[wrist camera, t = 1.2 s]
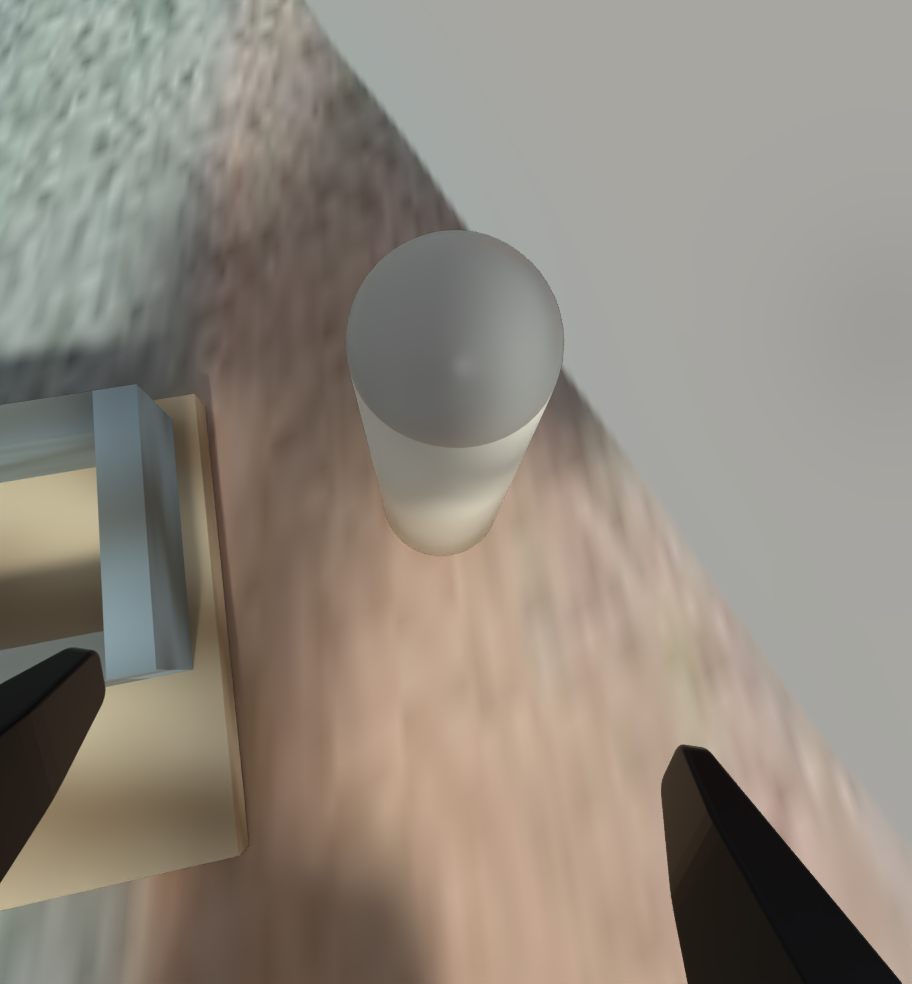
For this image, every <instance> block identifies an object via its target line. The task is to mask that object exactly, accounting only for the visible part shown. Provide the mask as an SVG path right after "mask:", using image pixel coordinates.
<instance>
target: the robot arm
mask: <svg viewBox="0 0 912 984" xmlns="http://www.w3.org/2000/svg"><path fill="white" fill-rule="evenodd" d="M105 691H106V687H105V681H104V676H103V671H102V665H101V660H100V656H99V654H98V653H97V652H96V651H94V650H89V649H83V648H77V647H69V648H66V649H64V650H62V651H60V652H58V653H56V654H54V655H52V656H51V657H49V658H47V659H45V660H43V661H41V662H40V663H38V664H36V665H34V666H32V667H30V668H29V669H27V670H25V671H23V672H21V673H19V674H18V675H16V676H14V677H12V678H10V679H8V680H6V681H5V682H3V683H1V684H0V883H1V882H2V880H3V879H4V877H5V876H6V874H7V872H8V871H9V869H10V868H11V866H12V865H13V863H14V861H15V860H16V858H17V857H18V855H19V854H20V852H21V850H22V849H23V847H24V846H25V844H26V843H27V841H28V839H29V838H30V836H31V835H32V833H33V832H34V830H35V828H36V827H37V825H38V824H39V822H40V821H41V819H42V817H43V816H44V814H45V813H46V811H47V809H48V808H49V806H50V804H51V803H52V801H53V799H54V798H55V796H56V794H57V792H58V790H59V788H60V786H61V785H62V783H63V781H64V779H65V777H66V775H67V773H68V771H69V769H70V767H71V765H72V763H73V761H74V759H75V757H76V755H77V753H78V751H79V749H80V747H81V745H82V743H83V741H84V739H85V737H86V735H87V733H88V731H89V729H90V727H91V725H92V723H93V722H94V720H95V718H96V716H97V714H98V712H99V710H100V708H101V706H102V703H103V701H104V698H105ZM661 798H662V808H663V819H664V830H665V841H666V852H667V862H668V873H669V883H670V892H671V899H672V905H673V911H674V917H675V922H676V927H677V932H678V937H679V942H680V947H681V952H682V957H683V962H684V967H685V972H686V978H687V983H688V984H902V982H901V981H900V980H899V979H898V977H897V976H896V975H895V974H894V973H893V971H892V970H891V969H890V968H889V967H888V965H887V964H886V963H885V962H884V961H883V959H882V958H881V957H880V956H879V955H878V953H877V952H876V951H875V950H874V949H873V947H872V946H871V945H870V944H869V943H868V941H867V940H866V939H865V938H864V937H863V935H862V934H861V933H860V932H859V930H858V929H857V928H856V927H855V926H854V924H853V923H852V922H851V921H850V920H849V918H848V917H847V916H846V915H845V914H844V912H843V911H842V910H841V909H840V908H839V906H838V905H837V904H836V903H835V902H834V900H833V899H832V898H831V897H830V896H829V894H828V893H827V892H826V891H825V890H824V888H823V887H822V886H821V885H820V883H819V882H818V881H817V880H816V879H815V877H814V876H813V875H812V874H811V873H810V871H809V870H808V869H807V868H806V867H805V865H804V864H803V863H802V862H801V861H800V859H799V858H798V857H797V856H796V855H795V853H794V852H793V851H792V850H791V849H790V847H789V846H788V845H787V844H786V843H785V841H784V840H783V839H782V838H781V836H780V835H779V834H778V833H777V832H776V830H775V829H774V828H773V827H772V826H771V824H770V823H769V822H768V821H767V820H766V818H765V817H764V816H763V815H762V814H761V812H760V811H759V810H758V809H757V808H756V806H755V805H754V804H753V803H752V802H751V800H750V799H749V798H748V797H747V796H746V794H745V793H744V792H743V791H742V789H741V788H740V787H739V786H738V785H737V783H736V782H735V781H734V780H733V779H732V777H731V776H730V775H729V774H728V773H727V771H726V770H725V769H724V768H723V767H722V765H721V764H720V763H719V762H718V761H717V759H716V758H715V757H714V756H713V755H712V753H711V752H710V751H708V750H707V749H705V748H702V747H697V746H690V745H680V746H678V747H677V749H676V750H675V752H674V755H673V757H672V759H671V761H670V763H669V765H668V767H667V770H666V772H665V774H664V776H663V779H662V784H661Z"/></svg>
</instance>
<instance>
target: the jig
mask: <svg viewBox="0 0 912 984" xmlns="http://www.w3.org/2000/svg"><path fill="white" fill-rule="evenodd" d="M69 647H77V648H83V649H89V650H94V651H96V652H97V653H98V654H99V656H100V660H101V665H102V671H103V676H104V681H105V687H106V691H105V698H104V701H103V703H102V706H101V708H100V710H99V712H98V714H97V716H96V718H95V720H94V722H93V723H92V725H91V727H90V729H89V731H88V733H87V735H86V737H85V739H84V741H83V743H82V745H81V747H80V749H79V751H78V753H77V755H76V757H75V759H74V761H73V763H72V765H71V767H70V769H69V771H68V773H67V775H66V777H65V779H64V781H63V783H62V785H61V786H60V788H59V790H58V792H57V794H56V796H55V798H54V799H53V801H52V803H51V804H50V806H49V808H48V809H47V811H46V813H45V814H44V816H43V817H42V819H41V821H40V822H39V824H38V825H37V827H36V828H35V830H34V832H33V833H32V835H31V836H30V838H29V839H28V841H27V843H26V844H25V846H24V847H23V849H22V850H21V852H20V854H19V855H18V857H17V858H16V860H15V861H14V863H13V865H12V866H11V868H10V869H9V871H8V872H7V874H6V876H5V877H4V879H3V880H2V882H1V883H0V911H1V910H5V909H9V908H14V907H18V906H23V905H27V904H31V903H36V902H40V901H44V900H49V899H53V898H57V897H62V896H66V895H71V894H75V893H79V892H84V891H88V890H92V889H97V888H101V887H106V886H110V885H114V884H119V883H123V882H127V881H132V880H136V879H141V878H145V877H149V876H154V875H158V874H162V873H167V872H171V871H176V870H180V869H184V868H189V867H193V866H197V865H202V864H206V863H211V862H215V861H219V860H224V859H228V858H232V857H237V856H239V855H240V854H241V853H242V852H243V851H244V850H245V849H246V848H247V847H248V846H249V841H248V831H247V821H246V811H245V801H244V791H243V781H242V771H241V761H240V751H239V741H238V731H237V721H236V710H235V700H234V690H233V680H232V670H231V660H230V650H229V640H228V630H227V620H226V610H225V600H224V590H223V580H222V570H221V560H220V550H219V540H218V530H217V520H216V510H215V500H214V490H213V480H212V470H211V460H210V449H209V439H208V429H207V419H206V409H205V406H204V404H203V403H202V402H201V401H200V400H199V398H198V397H197V396H196V395H195V394H189V395H183V396H176V397H170V398H164V399H157V400H152V399H151V398H150V397H149V396H148V395H147V394H146V393H145V392H144V391H143V390H142V389H141V388H140V387H139V386H138V385H137V384H133V385H127V386H120V387H114V388H107V389H101V390H94V391H88V392H81V393H75V394H68V395H62V396H55V397H49V398H42V399H36V400H29V401H23V402H16V403H10V404H3V405H0V684H1V683H3V682H5V681H6V680H8V679H10V678H12V677H14V676H16V675H18V674H19V673H21V672H23V671H25V670H27V669H29V668H30V667H32V666H34V665H36V664H38V663H40V662H41V661H43V660H45V659H47V658H49V657H51V656H52V655H54V654H56V653H58V652H60V651H62V650H64V649H66V648H69Z"/></svg>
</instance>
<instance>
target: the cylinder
mask: <svg viewBox="0 0 912 984" xmlns="http://www.w3.org/2000/svg"><path fill="white" fill-rule="evenodd" d="M563 351H564V334H563V324H562V319H561V315H560V311H559V307H558V304H557V301H556V299H555V296H554V294H553V293H552V290H551V289H550V287H549V285H548V283H547V281H546V280H545V279H544V277H543V276H542V274H541V273H540V271H539V270H538V269H537V268H536V267H535V266H534V265H533V263H532V262H531V261H530V260H528V259H527V258H526V257H525V256H524V255H523V254H521V253H520V252H519V251H518V250H516V249H514V248H513V247H511V246H510V245H508V244H507V243H505V242H503V241H501V240H499V239H496V238H494V237H491V236H489V235H485V234H481V233H478V232H472V231H465V230H445V231H437V232H432V233H428V234H425V235H421V236H418V237H416V238H414V239H411V240H409V241H407V242H405V243H403V244H402V245H400V246H398V247H397V248H395V249H393V250H392V251H391V252H389V253H388V254H387V255H386V256H384V257H383V258H382V259H381V260H380V261H379V262H378V263H377V264H376V265H375V267H374V268H373V269H372V270H371V271H370V272H369V274H368V275H367V277H366V278H365V279H364V281H363V282H362V284H361V286H360V288H359V290H358V292H357V294H356V296H355V298H354V301H353V304H352V307H351V309H350V313H349V318H348V323H347V330H346V352H347V362H348V367H349V371H350V375H351V379H352V383H353V387H354V391H355V395H356V399H357V402H358V406H359V410H360V414H361V418H362V422H363V426H364V430H365V434H366V438H367V442H368V446H369V450H370V454H371V458H372V461H373V465H374V469H375V473H376V477H377V481H378V485H379V489H380V493H381V497H382V501H383V505H384V509H385V513H386V517H387V519H388V522H389V524H390V526H391V528H392V530H393V531H394V532H395V534H396V535H397V536H398V537H399V538H400V539H401V540H402V541H403V542H404V543H405V544H406V545H408V546H409V547H411V548H413V549H414V550H416V551H419V552H421V553H424V554H428V555H434V556H448V555H454V554H458V553H461V552H463V551H466V550H468V549H470V548H471V547H473V546H474V545H476V544H477V543H478V542H479V541H480V540H481V539H482V538H483V537H484V536H485V535H486V534H487V532H488V531H489V529H490V528H491V526H492V524H493V522H494V520H495V517H496V515H497V513H498V511H499V509H500V506H501V504H502V502H503V500H504V498H505V495H506V493H507V491H508V489H509V487H510V485H511V482H512V480H513V478H514V476H515V474H516V471H517V469H518V467H519V465H520V463H521V460H522V458H523V456H524V454H525V452H526V450H527V447H528V445H529V443H530V441H531V439H532V436H533V434H534V432H535V430H536V428H537V425H538V423H539V421H540V419H541V417H542V415H543V412H544V410H545V408H546V406H547V404H548V401H549V399H550V397H551V395H552V393H553V390H554V388H555V385H556V383H557V380H558V377H559V374H560V370H561V366H562V361H563Z"/></svg>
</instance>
